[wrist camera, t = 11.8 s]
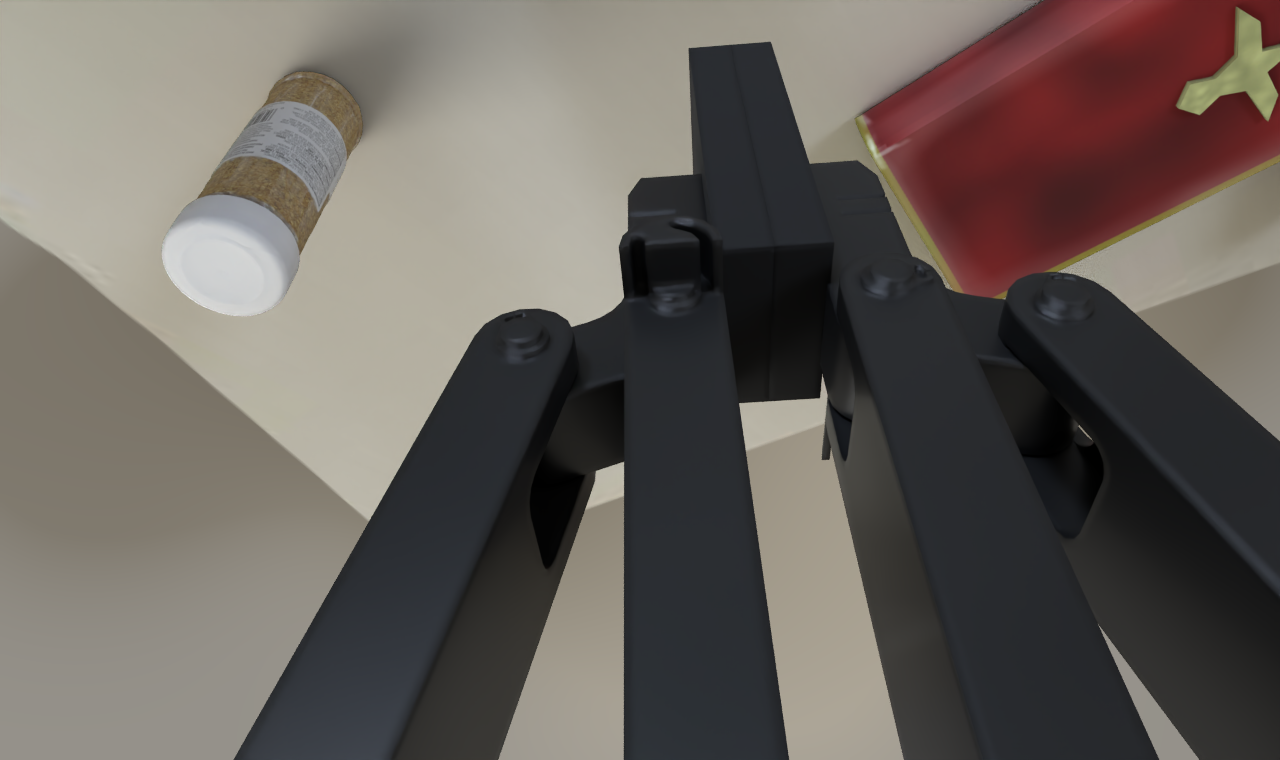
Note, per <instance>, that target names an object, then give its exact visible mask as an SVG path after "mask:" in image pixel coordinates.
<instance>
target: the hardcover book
mask: <svg viewBox="0 0 1280 760" xmlns="http://www.w3.org/2000/svg"><path fill="white" fill-rule="evenodd" d="M855 121H856V124H857V126H858V129H859V131H860V133H861V135H862V138H863V140H864V142H865V144H866V146H867V148H868V150H869V152H870V154H871V156H872V158H873V160H874V161H875V163H876V165H877V166H878V168H879V170H880V171H881V173H882V174H883V176H884V178H885V179H886V181H887V183H888V184H889V186H890V188H891V189H892V191H893V192H894V194H895V196H896V197H897V199H898V201H899V202H900V204H901V206H902V207H903V209H904V210H905V212H906V214H907V215H908V217H909V219H910V220H911V222H912V224H913V225H914V227H915V228H916V230H917V232H918V233H919V235H920V237H921V238H922V240H923V242H924V243H925V245H926V247H927V248H928V250H929V251H930V253H931V255H932V256H933V258H934V260H935V261H936V263H937V265H938V266H939V268H940V269H941V271H942V273H943V274H944V276H945V278H946V279H947V281H948V283H949V284H950V286H951V287H952V289H953V291H955V292H959V293H964V294H969V295H974V296H982V297H989V298H996V299H1003V298H1005V297H1006V295H1007V291H1008V289H1009V288H1010V287H1011V285H1012V284H1013V283H1014V282H1015V281H1016V280H1017V279H1020V278H1022V277H1025V276H1027V275H1030V274H1033V273H1044V272H1058V271H1060V270H1062V269H1064V268H1066V267H1068V266H1070V265H1072V264H1074V263H1076V262H1078V261H1080V260H1082V259H1084V258H1086V257H1088V256H1090V255H1092V254H1094V253H1096V252H1098V251H1100V250H1102V249H1104V248H1106V247H1108V246H1110V245H1112V244H1114V243H1116V242H1118V241H1120V240H1122V239H1124V238H1126V237H1128V236H1130V235H1132V234H1134V233H1136V232H1138V231H1141V230H1143V229H1145V228H1147V227H1149V226H1151V225H1153V224H1155V223H1157V222H1159V221H1161V220H1163V219H1165V218H1167V217H1169V216H1171V215H1173V214H1175V213H1177V212H1179V211H1181V210H1183V209H1185V208H1187V207H1189V206H1191V205H1193V204H1195V203H1197V202H1199V201H1201V200H1203V199H1205V198H1207V197H1209V196H1211V195H1213V194H1215V193H1217V192H1219V191H1221V190H1223V189H1225V188H1227V187H1229V186H1231V185H1233V184H1235V183H1237V182H1239V181H1241V180H1243V179H1245V178H1247V177H1250V176H1252V175H1254V174H1256V173H1258V172H1260V171H1262V170H1264V169H1266V168H1268V167H1270V166H1272V165H1274V164H1276V163H1278V162H1280V0H1044V1H1043V2H1041V3H1039V4H1038V5H1036V6H1035V7H1033V8H1031V9H1030V10H1028V11H1027V12H1025V13H1023V14H1022V15H1020V16H1019V17H1017V18H1015V19H1014V20H1012V21H1011V22H1009V23H1007V24H1006V25H1004V26H1003V27H1001V28H999V29H998V30H996V31H995V32H993V33H991V34H990V35H988V36H987V37H985V38H983V39H982V40H980V41H979V42H977V43H975V44H974V45H972V46H971V47H969V48H967V49H966V50H964V51H963V52H961V53H959V54H958V55H956V56H955V57H953V58H951V59H950V60H948V61H947V62H945V63H943V64H942V65H940V66H939V67H937V68H935V69H934V70H932V71H931V72H929V73H927V74H926V75H924V76H923V77H921V78H919V79H918V80H916V81H915V82H913V83H911V84H910V85H908V86H907V87H905V88H903V89H902V90H900V91H899V92H897V93H895V94H894V95H892V96H891V97H889V98H887V99H886V100H884V101H883V102H881V103H879V104H878V105H876V106H875V107H873V108H871V109H870V110H868V111H867V112H865V113H863V114H862V115H860V116H859V117H857V118H855Z"/></svg>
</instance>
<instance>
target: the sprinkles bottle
mask: <svg viewBox="0 0 1280 760" xmlns="http://www.w3.org/2000/svg"><path fill="white" fill-rule="evenodd" d="M362 127H363V123H362V116H361V112H360V108H359V106H358V104H357V103H356V101H355V100H354V99H353V97H352V95H351V94H350V93H349V92H348V91H347V90H346V89H345V88H344V87H343V86H342V85H341V84H339V83H338V82H336V81H335V80H334V79H333V78H330V77H327V76H325V75H322V74H317V73H314V72H295V73H292V74H290V75H287V76H285V77H284V78H283V79H281V80H279V81H278V82H277V83H276V84H275V85H274V87H273V88H272V90H271V91H270V93H269V97H268V100H267V101H266V103H265V104H264V105H263V107H262V108H261V109H259V110H258V111H257V112H256V113H255V115H254V116H253V118H252V119H251V120H250V122H249V123H248V124H247V126H246V127H245V128H244V130H243V131H242V133H241V134H240V135H239V137H238V138H237V139H236V141H235V142H234V144H233V145H232V146H231V148H230V149H229V151H228V152H227V154H226V155H225V157H224V158H223V159H222V161H221V162H220V164H219V165H218V166H217V168H216V169H215V171H214V172H213V174H212V176H211V179H210V180H209V182H208V183H207V184H206V186H205V188H204V189H203V191H202V192H201V194H200V195H199V196H198V198H197V199H196V200H194V201H193V202H191V203H190V204H188V205H187V206H186V207H185V208H184V209H183V210H182V211H181V213H180V214H179V215H178V217H177V218H176V220H175V221H174V223H173V224H172V226H171V227H170V229H169V231H168V232H167V234H166V236H165V238H164V241H163V245H162V261H163V264H164V267H165V270H166V272H167V274H168V276H169V277H170V279H171V280H172V282H173V283H174V284H175V285H176V287H177V288H178V289H179V290H180V291H181V292H182V293H183V294H185V295H186V296H187V297H188V298H190V299H191V300H193V301H194V302H196V303H197V304H199V305H201V306H203V307H205V308H207V309H209V310H212V311H215V312H218V313H222V314H226V315H232V316H253V315H257V314H261V313H264V312H266V311H269V310H270V309H272V308H274V307H275V306H276V305H277V304H278V303H279V302H280V301H281V300H282V299H283V298H284V296H285V294H286V293H287V291H288V289H289V287H290V285H291V283H292V281H293V279H294V277H295V275H296V273H297V271H298V266H299V262H300V254H301V252H302V250H303V248H304V246H305V244H306V242H307V239H308V238H309V236H310V234H311V232H312V231H313V229H314V227H315V225H316V223H317V221H318V219H319V217H320V215H321V213H322V211H323V209H324V207H325V206H326V205H327V204H328V202H329V200H330V198H331V196H332V194H333V192H334V189H335V187H336V185H337V183H338V181H339V179H340V177H341V175H342V173H343V171H344V169H345V166H346V161H347V159H348V158H349V155H350V153H351V151H352V150H354V148H355V147H356V146H357V145H358V143H359V141H360V138H361V135H362Z"/></svg>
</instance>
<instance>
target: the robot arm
mask: <svg viewBox="0 0 1280 760" xmlns="http://www.w3.org/2000/svg"><path fill="white" fill-rule="evenodd" d="M689 70H690V98H691V125H692V152H693V175H681V176H667V177H654V178H641V179H640V180H639V182H638V183H637V184H636V186H635V187H634V188H633V190H632V191H631V192H630V194H629V195H628V231H627V232H626V233H625V234H624V235H623V237H622V239H621V242H620V245H619V253H620V262H621V271H622V281H623V290H624V298H623V300H622V302H621V303H620V304H619V305H618V306H617V307H616V308H615V309H613V310H612V311H611V312H609V313H607V314H606V315H604V316H602V317H601V318H598V319H596V320H593V321H590V322H588V323H584V324H581V325H577V326H574V327H571V326H570V324H569V322H568V320H566V319H564V318H563V317H561V316H560V315H558V314H557V313H555V312H551V311H546V310H542V309H520V310H516V311H512V312H509V313H505V314H502V315H500V316H498V317H496V318H495V319H493V320H491V321H489V322H488V323H486V324H485V325H484V326H483V327H482V328H481V329H480V330H479V332H478V333H477V334H476V335H475V336H474V338H473V340H472V342H471V343H470V345H469V347H468V349H467V350H466V352H465V354H464V356H463V357H462V359H461V361H460V363H459V364H458V366H457V368H456V370H455V371H454V373H453V375H452V377H451V379H450V380H449V382H448V384H447V386H446V387H445V389H444V391H443V393H442V394H441V396H440V398H439V400H438V401H437V403H436V405H435V407H434V408H433V410H432V412H431V414H430V415H429V417H428V419H427V421H426V422H425V424H424V426H423V428H422V429H421V431H420V433H419V435H418V437H417V438H416V440H415V442H414V444H413V445H412V447H411V449H410V451H409V452H408V454H407V456H406V458H405V459H404V461H403V463H402V465H401V466H400V468H399V470H398V472H397V473H396V475H395V477H394V479H393V480H392V482H391V484H390V486H389V487H388V489H387V491H386V493H385V495H384V496H383V498H382V500H381V502H380V503H379V505H378V507H377V509H376V510H375V512H374V514H373V516H372V517H371V519H370V521H369V523H368V524H367V526H366V528H365V530H364V531H363V533H362V535H361V537H360V538H359V540H358V542H357V544H356V545H355V547H354V549H353V551H352V553H351V554H350V556H349V558H348V560H347V561H346V563H345V565H344V567H343V568H342V570H341V572H340V574H339V575H338V577H337V579H336V581H335V582H334V584H333V586H332V588H331V590H330V591H329V593H328V595H327V597H326V598H325V600H324V602H323V603H322V605H321V607H320V609H319V611H318V612H317V614H316V616H315V618H314V619H313V621H312V623H311V625H310V627H309V628H308V630H307V632H306V633H305V635H304V637H303V639H302V640H301V642H300V644H299V646H298V647H297V649H296V651H295V653H294V655H293V656H292V658H291V660H290V661H289V663H288V665H287V667H286V669H285V670H284V672H283V674H282V676H281V677H280V679H279V681H278V683H277V684H276V686H275V688H274V690H273V691H272V693H271V695H270V697H269V698H268V700H267V702H266V704H265V705H264V707H263V709H262V711H261V712H260V714H259V716H258V718H257V719H256V721H255V723H254V725H253V727H252V728H251V730H250V732H249V734H248V735H247V737H246V739H245V741H244V743H243V744H242V746H241V748H240V750H239V751H238V753H237V755H236V757H235V758H234V760H498V759H499V755H500V753H501V750H502V747H503V744H504V741H505V738H506V735H507V733H508V730H509V727H510V724H511V721H512V718H513V715H514V712H515V710H516V707H517V704H518V701H519V698H520V695H521V692H522V689H523V687H524V683H525V681H526V678H527V675H528V672H529V669H530V666H531V663H532V661H533V658H534V655H535V652H536V649H537V646H538V643H539V641H540V638H541V635H542V632H543V629H544V626H545V623H546V620H547V618H548V614H549V612H550V609H551V606H552V603H553V600H554V597H555V595H556V591H557V589H558V586H559V583H560V580H561V577H562V574H563V571H564V569H565V566H566V563H567V560H568V557H569V554H570V551H571V548H572V546H573V543H574V540H575V537H576V533H577V531H578V528H579V525H580V523H581V520H582V517H583V514H584V511H585V508H586V505H587V502H588V500H589V497H590V494H591V491H592V488H593V485H594V482H595V474H596V471H597V470H600V469H603V468H606V467H609V466H612V465H615V464H618V463H621V462H624V760H789V756H788V749H787V742H786V734H785V727H784V720H783V713H782V706H781V699H780V692H779V685H778V677H777V670H776V663H775V656H774V649H773V643H772V635H771V628H770V621H769V613H768V606H767V599H766V593H765V585H764V578H763V571H762V564H761V557H760V549H759V542H758V535H757V528H756V521H755V514H754V507H753V500H752V492H751V486H750V478H749V471H748V464H747V457H746V450H745V443H744V435H743V428H742V421H741V414H740V407H739V403H748V402H764V401H781V400H797V399H814V398H820V392H821V381H822V374H823V378H824V382H825V386H826V390H827V394H828V398H827V408H826V418H825V428H824V438H823V448H822V460H829V459H830V450H831V449H832V454H833V458H834V462H835V466H836V470H837V474H838V479H839V484H840V488H841V492H842V496H843V501H844V505H845V509H846V514H847V518H848V522H849V526H850V530H851V535H852V539H853V543H854V548H855V552H856V556H857V560H858V565H859V569H860V573H861V578H862V582H863V586H864V591H865V594H866V598H867V603H868V608H869V612H870V616H871V621H872V625H873V629H874V633H875V638H876V642H877V646H878V651H879V654H880V659H881V663H882V668H883V672H884V676H885V680H886V685H887V689H888V693H889V698H890V702H891V706H892V710H893V714H894V719H895V723H896V728H897V732H898V736H899V741H900V744H901V749H902V753H903V757H904V760H1159V758H1158V756H1157V754H1156V752H1155V749H1154V747H1153V745H1152V743H1151V740H1150V738H1149V736H1148V734H1147V732H1146V729H1145V727H1144V725H1143V723H1142V721H1141V718H1140V716H1139V714H1138V712H1137V710H1136V707H1135V705H1134V703H1133V701H1132V698H1131V696H1130V694H1129V692H1128V690H1127V687H1126V685H1125V683H1124V681H1123V679H1122V676H1121V674H1120V672H1119V670H1118V667H1117V665H1116V663H1115V661H1114V659H1113V657H1112V654H1111V652H1110V650H1109V648H1108V645H1107V643H1106V641H1105V639H1104V637H1103V634H1102V632H1101V630H1100V628H1099V626H1100V627H1101V628H1102V629H1103V631H1104V632H1105V634H1106V635H1107V636H1108V638H1109V639H1110V640H1111V642H1112V643H1113V644H1114V646H1115V647H1116V648H1117V650H1118V651H1119V652H1120V654H1121V655H1122V656H1123V658H1124V659H1125V660H1126V662H1127V663H1128V664H1129V666H1130V667H1131V668H1132V670H1133V671H1134V672H1135V674H1136V675H1137V677H1138V678H1139V679H1140V680H1141V682H1142V683H1143V684H1144V686H1145V687H1146V688H1147V690H1148V691H1149V692H1150V694H1151V695H1152V697H1153V698H1154V699H1155V701H1156V702H1157V703H1158V705H1159V706H1160V707H1161V709H1162V710H1163V711H1164V713H1165V714H1166V715H1167V717H1168V718H1169V719H1170V721H1171V722H1172V724H1173V725H1174V726H1175V727H1176V729H1177V730H1178V732H1179V733H1180V734H1181V736H1182V737H1183V738H1184V739H1185V741H1186V742H1187V744H1188V745H1189V746H1190V748H1191V749H1192V750H1193V752H1194V753H1195V754H1196V756H1197V757H1198V758H1199V760H1280V441H1279V440H1278V439H1276V438H1275V437H1274V436H1273V435H1272V434H1271V433H1270V432H1268V431H1267V430H1266V429H1265V428H1264V427H1263V426H1262V425H1261V424H1259V423H1258V422H1257V421H1256V420H1255V419H1254V418H1253V417H1251V416H1250V415H1249V414H1248V413H1247V412H1246V411H1245V410H1243V409H1242V408H1241V407H1240V406H1239V405H1238V404H1237V403H1236V402H1235V401H1233V400H1232V399H1231V398H1230V397H1229V396H1228V395H1227V394H1225V393H1224V392H1223V391H1222V390H1221V389H1220V388H1219V387H1218V386H1216V385H1215V384H1214V383H1213V382H1212V381H1211V380H1210V379H1209V378H1207V377H1206V376H1205V375H1204V374H1203V373H1202V372H1201V371H1199V370H1198V369H1197V368H1196V367H1195V366H1194V365H1193V364H1192V363H1190V362H1189V361H1188V360H1187V359H1186V358H1185V357H1184V356H1182V355H1181V354H1180V353H1179V352H1178V351H1177V350H1176V349H1174V348H1173V347H1172V346H1171V345H1170V344H1169V343H1168V342H1167V341H1165V340H1164V339H1163V338H1162V337H1161V336H1160V335H1158V333H1156V332H1155V331H1154V330H1153V329H1152V328H1151V327H1150V326H1148V325H1147V324H1146V323H1145V322H1144V321H1143V320H1141V318H1139V317H1138V316H1137V315H1136V314H1135V313H1134V312H1133V311H1131V310H1130V309H1129V308H1128V307H1127V306H1126V305H1125V304H1124V303H1122V302H1121V301H1120V300H1119V299H1118V298H1117V297H1116V296H1114V295H1113V294H1112V293H1111V292H1110V291H1108V290H1107V289H1105V288H1104V287H1102V286H1100V285H1099V284H1097V283H1096V282H1094V281H1091V280H1088V279H1086V278H1083V277H1080V276H1077V275H1074V274H1067V273H1058V272H1044V273H1033V274H1030V275H1027V276H1025V277H1022V278H1020V279H1017V280H1016V281H1015V282H1014V283H1013V284H1012V285H1011V287H1010V288H1009V289H1008V291H1007V295H1006V299H1005V300H1004V299H996V298H989V297H982V296H974V295H969V294H964V293H959V292H955V291H952V290H950V289H947V288H946V287H945V285H944V283H943V281H942V279H941V277H940V275H939V274H938V273H937V272H936V271H935V269H934V268H933V267H932V266H931V265H929V264H927V263H925V262H924V261H922V260H920V259H918V258H916V257H912V255H911V253H910V251H909V248H908V246H907V244H906V241H905V239H904V237H903V234H902V232H901V230H900V227H899V225H898V223H897V220H896V218H895V216H894V213H893V212H891V206H890V204H889V202H888V199H887V197H885V192H884V190H883V188H882V185H881V183H880V181H879V178H878V176H877V175H876V174H875V173H873V172H872V171H871V170H869V169H868V168H867V167H865V166H864V165H863V164H861V163H860V162H859V161H844V162H830V163H816V164H809V161H808V158H807V154H806V151H805V148H804V145H803V142H802V139H801V136H800V132H799V129H798V126H797V123H796V120H795V117H794V114H793V110H792V107H791V104H790V101H789V98H788V95H787V92H786V88H785V85H784V82H783V79H782V76H781V73H780V69H779V66H778V63H777V60H776V57H775V54H774V51H773V47H772V44H771V42H763V43H750V44H737V45H724V46H712V47H699V48H689ZM1079 425H1080V426H1081V427H1082V428H1083V430H1084V431H1085V432H1086V433H1087V434H1088V435H1089V436H1090V437H1091V438H1092V440H1093V441H1092V440H1091V439H1090V438H1089V437H1087V436H1086V435H1085V434H1084V433H1083V431H1082V430H1081V429H1080V428H1079V427H1078V426H1079ZM1098 624H1099V626H1098Z"/></svg>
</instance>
